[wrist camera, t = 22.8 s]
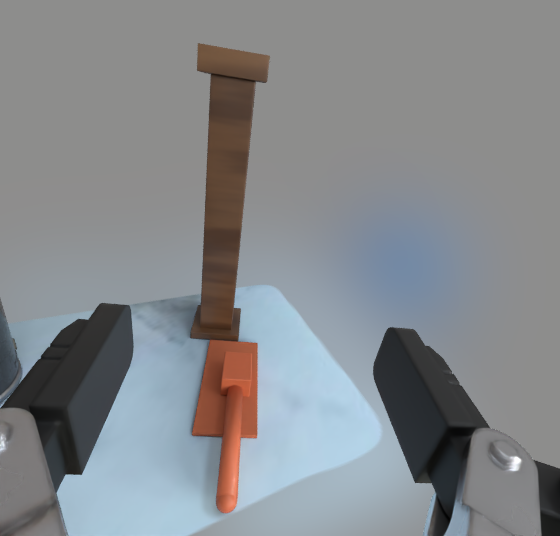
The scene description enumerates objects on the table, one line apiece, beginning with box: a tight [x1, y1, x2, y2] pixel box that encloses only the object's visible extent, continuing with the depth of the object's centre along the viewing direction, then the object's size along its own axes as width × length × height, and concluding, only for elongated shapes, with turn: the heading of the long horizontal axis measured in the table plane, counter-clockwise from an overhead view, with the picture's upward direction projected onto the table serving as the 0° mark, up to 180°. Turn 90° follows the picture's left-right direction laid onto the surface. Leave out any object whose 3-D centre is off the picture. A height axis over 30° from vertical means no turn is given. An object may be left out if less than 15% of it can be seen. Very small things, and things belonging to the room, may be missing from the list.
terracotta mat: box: [192, 340, 257, 438], centre depth 37 cm, size 13×6×1 cm, turn 3°
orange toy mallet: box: [216, 352, 252, 513], centre depth 32 cm, size 15×3×2 cm, turn 2°
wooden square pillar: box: [190, 43, 270, 342], centre depth 38 cm, size 6×6×32 cm
